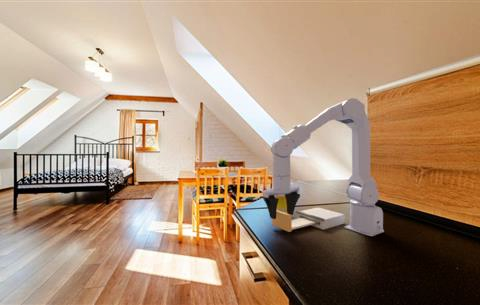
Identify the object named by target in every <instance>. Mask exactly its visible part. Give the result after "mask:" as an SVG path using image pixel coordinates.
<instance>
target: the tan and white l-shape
mask: <svg viewBox="0 0 480 305" xmlns="http://www.w3.org/2000/svg"><path fill="white" fill-rule="evenodd" d="M292 217H293V215H290V214H287V213H284V212H281V211H278V210H277V211H276V219H272V218H271V222H272V224H271V225H272V226H274V227H276V228H278V229H281V230H283V231H286V232H288V233H290V232H292V231H293V230H297V229H300V228H305V227H308V226H312V224H316V223H320V222H319V221H316V220H313V219H310V218H307V217H303V218H299V219H297V218H295V219H292Z"/></svg>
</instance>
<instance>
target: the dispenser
mask: <svg viewBox="0 0 480 305" xmlns="http://www.w3.org/2000/svg"><path fill="white" fill-rule="evenodd" d="M295 214H296V219H299V218H303V217H307V218H310V219H313V220H316V221H319V222H320V223H316V224H312V225H311V227H315V228H317V229H320V230H327V229H330V228H333V227H337V226H340V225H343V224H345V221H346V220H345V218H346V217H345V216H346V214H345V213H341V212H337V211H334V210H333V211H332V210H330V209H326V208H323V207H313V208H308V209H303V210H295Z"/></svg>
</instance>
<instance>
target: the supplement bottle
mask: <svg viewBox="0 0 480 305" xmlns="http://www.w3.org/2000/svg"><path fill="white" fill-rule="evenodd" d="M274 197H275V198H277V199H279V200H278V204H277V210H278V211H281V212H284V213H287V203H286V198H285V194H283V195H276V196H274Z"/></svg>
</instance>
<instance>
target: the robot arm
mask: <svg viewBox="0 0 480 305" xmlns="http://www.w3.org/2000/svg"><path fill="white" fill-rule="evenodd" d="M334 120H335V121H336V122H340V123H341V124H344V125H346V126H347V127H348V128H350V129H351V162H352V163H351V164H352V165H351V166H352V167H351V170H352V171H351V173H352V174H351V176H349V179H348V184H347V186H346V189H345V193H346V195H347V197H348V198H349V224H348V225H345V226H344V227H343V228H344V229H346V230H350V231H353V232H356V233H359V234H362V235H366V236H368V237H369V236H370V237H374V236H377V235H379V234H382V233H385V230H384V212H383V209H382V208H381V207H379V206H377V205H376V203H377V202H378V201H379V199H380V194H379V190H378V187H377V181H376V180H375V179H374V178H373V177H372V176H371V123H370V119H369V117H368V115H367V113H366V106H365V103H363V102H362V101H360V100H359V99H358V98H353V97H352V98H348V99H347V100H345V101H341V102H338V103H335V104H334V105H332V106H329V107H328V108H325V110H323V111H322V112H321V113H319V114H318V115H316V117H314V118H313V119H311V120H310V121H309V122H307V123H306V124H299V125H293V126H292V129H290V130H289V131H288V132H286V133H284V134H282V135H280V137H281V138H279V139H276V140H273V142H272V145H271V147H270V151H271V153H272V155H273V156H272V160H273V161H272V187H271V188H269V189H264V190H262V199H263V201H264V203H265V204H266V207H267V211H268V214H269V217H270V219H271V220H272V219H276V211H277V204H278V200H279V199H277V198H275V197H274V196H276V195H283V194H285V198H286V203H287V214H290V215H292V216H293V215H294V213H295V209H296V206H297V203H298V200H299V199H300V198H301V194H300V186H296V185H294V186H291V155H292V153H293V151H294V150H295V149H297V148H299V147H300V146H302V145H303V144H305V142H307V141H308V140H309V139H311V134H312V133H313V132H315V131H317V130H318V129H319V128H321V127H322V126H323V125H325V124H327V123H328V122H330V121H334Z"/></svg>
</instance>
